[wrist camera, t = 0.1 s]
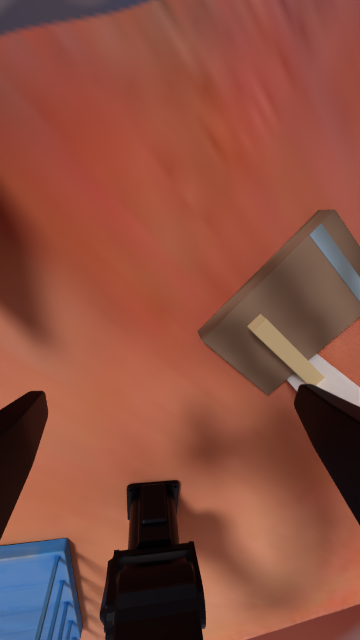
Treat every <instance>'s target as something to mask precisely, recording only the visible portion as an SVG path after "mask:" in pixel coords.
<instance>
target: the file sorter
mask: <svg viewBox="0 0 360 640" xmlns="http://www.w3.org/2000/svg"><path fill="white" fill-rule="evenodd" d="M82 627H83V625H82V620H81V614H80V608H79V603H78V597H77V591H76V585H75V579H74V573H73V567H72V561H71V555H70V549H69V543H68V539H67V538H63V539H55V540H47V541H39V542H30V543H22V544H14V545H5V546H0V640H80V638H81V633H82Z"/></svg>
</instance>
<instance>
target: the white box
mask: <svg viewBox="0 0 360 640" xmlns="http://www.w3.org/2000/svg"><path fill="white" fill-rule="evenodd" d="M247 327H248V328H249V329H250V330H251V331H252V332H253V333H254V334H255V335H256V336H257V337H258V338H260V339H261V340H262V341H263V342H264V343H265V344H266V345H267V346H268V347H269V348H270V349H271V350H272V351H273V352H274V353H275V354H276V355H278V356H279V357H280V358H281V359H282V360H283V361H284V362H285V363H286V364H287V365H288V366H289V367H290V368H291V369H292V370H293V371H294V372H295V373H294V374H292V375H291V376H290V377H289V378H288V379H287V381H288V382H289V383H290V384H291V385H292V386H293V387H294V389H295V390H296V391H297V390H298V387H299V385H301V384H313V385H315V386H317V387H319V388H321V389H323V390H325V391H328V392H330V393H332V394H334V395H336V396H338V397H340V398H342V399H344V400H346V401H348V402H350V403H353V404H355V405H357V406H359V407H360V387H358V386H357V385H356V384H355V383H353V382H352V381H351V380H349V379H348V378H347V377H346V376H344V375H343V374H342V373H341V372H339V371H338V370H337V369H335V368H334V367H333V366H332V365H330V364H329V363H328V362H327V361H325V360H324V359H323V358H322V357H320V356H319V355H318V354H316V355H314V356H313V357H312V358H311V359H310V360H309V361H308V360H307V359H306V358H305V357H304V356H303V355H302V354H301V353H300V352H299V351H298V350H297V349H296V348H295V347H294V346H293V345H292V344H291V343H290V342H289V341H288V340H287V339H286V338H285V337H284V336H283V335H282V334H281V333H280V332H279V331H278V330H277V329H276V328H275V327H274V326H273V325H272V324H271V323H270V322H269V321H268V320H267V319H266V318H265V317H264V316H262V315H261V314H260V315H259V316H258V317H257V318H255V319H254V320H253V321H252V322H251V323H250V324H249V325H248V326H247Z"/></svg>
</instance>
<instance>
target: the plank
mask: <svg viewBox="0 0 360 640" xmlns="http://www.w3.org/2000/svg"><path fill="white" fill-rule="evenodd" d="M260 314H261V315H262V316H264V317H265V318H266V319H267V320H268V321H269V322H270V323H271V324H272V325H273V326H274V327H275V328H276V329H277V330H278V331H279V332H280V333H281V334H282V335H283V336H284V337H285V338H286V339H287V340H288V341H289V342H290V343H291V344H292V345H293V346H294V347H295V348H296V349H297V350H298V351H299V352H300V353H301V354H302V355H303V356H304V357H305V358H306V359H307V360H308V361H309V360H310V359H311V358H312V357H313V356H314V355H316V354H317V353H318V352H319V351H320V350H321V349H323V348H324V347H325V346H326V345H327V344H328V343H330V342H331V341H332V340H333V339H334V338H335V337H337V336H338V335H339V334H340V333H341V332H342V331H343V330H345V329H346V328H347V327H348V326H349V325H350V324H352V323H353V322H354V321H355V320H356V319H357V318H359V317H360V246H359V245H358V243H357V242H356V240H355V239H354V237H353V236H352V234H351V233H350V231H349V230H348V228H347V227H346V225H345V224H344V222H343V221H342V219H341V218H340V216H339V215H338V213H337V212H336V210H318V211H317V212H316V213H315V214H314V215H313V216H312V217H311V218H310V219H309V220H308V222H307V223H306V224H305V225H304V226H303V227H302V228H301V229H300V230H299V231H298V232H297V233H296V234H295V235H294V236H293V237H292V238H291V239H290V240H289V241H288V242H287V243H286V244H285V245H284V246H283V247H282V248H281V249H280V250H279V251H278V252H277V253H276V254H275V255H274V256H273V257H272V258H271V259H270V260H269V261H268V262H267V263H266V264H265V265H264V266H263V267H262V268H261V269H260V270H259V271H258V272H257V273H256V274H255V275H254V276H253V277H252V278H251V279H250V280H249V281H248V282H247V283H246V284H245V285H244V286H243V287H242V288H241V289H240V290H239V291H238V292H237V293H236V294H235V295H234V296H233V297H232V298H231V299H230V300H229V301H228V302H227V303H226V304H225V305H224V306H223V307H222V308H221V309H220V310H219V311H218V312H217V313H216V314H215V315H214V316H213V317H212V318H211V319H210V320H209V321H208V322H207V323H206V324H205V325H204V326H203V327H202V328H201V329H200V330H199V331H198V333H199V335H200V338H201V340H202V341H203V342H204V343H205V344H207V345H208V346H209V347H210V348H211V349H213V350H214V351H215V352H216V353H217V354H219V355H220V356H221V357H222V358H223V359H225V360H226V361H227V362H228V363H229V364H231V365H232V366H233V367H234V368H235V369H237V370H238V371H239V372H240V373H241V374H243V375H244V376H245V377H246V378H247V379H249V380H250V381H251V382H252V383H253V384H255V385H256V386H257V387H258V388H259V389H261V390H262V391H263V392H264V393H265V394H267V395H269V394H270V393H271V392H273V391H274V390H275V389H276V388H277V387H278V386H280V385H281V384H282V383H283V382H284V381H285V380H287V379H288V378H289V377H290V376H291V375H292V374H294V373H295V372H294V371H293V370H292V369H291V368H290V367H289V366H288V365H287V364H286V363H285V362H284V361H283V360H282V359H281V358H280V357H279V356H278V355H276V354H275V353H274V352H273V351H272V350H271V349H270V348H269V347H268V346H267V345H266V344H265V343H264V342H263V341H262V340H261V339H260V338H258V337H257V336H256V335H255V334H254V333H253V332H252V331H251V330H250V329H249V328H248V327H247V326H248V325H249V324H250V323H251V322H252V321H253V320H254V319H255V318H257V317H258V316H259V315H260Z"/></svg>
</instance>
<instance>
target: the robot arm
mask: <svg viewBox="0 0 360 640" xmlns="http://www.w3.org/2000/svg"><path fill="white" fill-rule="evenodd" d="M294 406H295V409H296V411H297V413H298V415H299V418H300V420H301V422H302V424H303V426H304V428H305V430H306V432H307V434H308V437H309V439H310V441H311V443H312V445H313V447H314V448H315V450H316V452H317V454H318V455H319V457H320V459H321V461H322V462H323V464H324V466H325V467H326V469H327V471H328V472H329V474H330V476H331V478H332V479H333V481H334V483H335V484H336V486H337V488H338V489H339V491H340V493H341V494H342V496H343V498H344V500H345V501H346V503H347V505H348V506H349V508H350V510H351V511H352V513H353V515H354V516H355V518H356V520H357V522H358V523H359V525H360V407H359V406H357V405H355V404H353V403H350V402H348V401H346V400H344V399H342V398H340V397H338V396H336V395H334V394H332V393H330V392H328V391H325V390H323V389H321V388H319V387H317V386H315V385H313V384H301V385H299V387H298V390H297V394H296V397H295V401H294ZM47 418H48V407H47V401H46V395H45V393H44V392H43V391H30V392H28V393H26V394H25V395H23V396H21V397H20V398H18V399H17V400H15V401H13V402H12V403H10V404H9V405H7V406H6V407H4V408H2V409H1V410H0V539H1V537H2V535H3V532H4V530H5V528H6V525H7V523H8V521H9V519H10V516H11V514H12V512H13V509H14V507H15V505H16V502H17V500H18V498H19V496H20V493H21V491H22V489H23V486H24V484H25V482H26V479H27V477H28V475H29V472H30V470H31V468H32V465H33V462H34V459H35V456H36V453H37V450H38V447H39V443H40V440H41V437H42V434H43V431H44V428H45V424H46V421H47ZM178 491H179V483H178V481H165V482H153V483H141V484H130V485H128V486H127V511H128V520H130V523H129V541H128V550H122V551H119V550H114V556H113V558H112V559H111V560H109V561H108V568H107V577H106V584H105V589H104V594H103V599H102V604H101V609H100V620H101V622H102V623H103V625H104V633H105V632H106V635H105V640H203V634H202V629H205V627H206V611H205V599H204V591H203V585H202V579H201V575H200V570H199V565H198V561H197V556H196V551H195V546H194V542H193V541H190V542H188V543H182V544H179V537H178V527H177V517H176V514H177V503H178Z"/></svg>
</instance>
